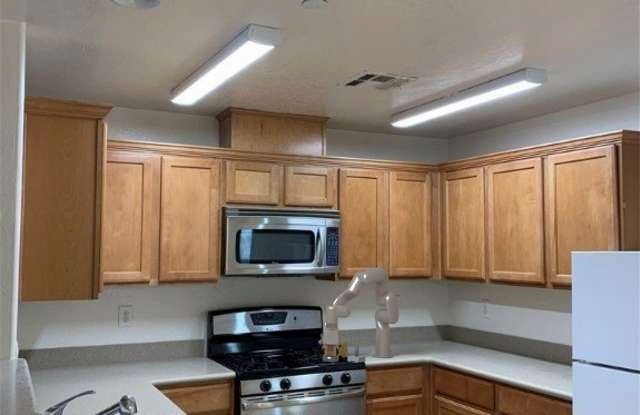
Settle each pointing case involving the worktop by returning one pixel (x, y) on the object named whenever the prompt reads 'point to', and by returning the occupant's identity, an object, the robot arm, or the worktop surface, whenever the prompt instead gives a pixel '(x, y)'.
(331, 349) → the brown box
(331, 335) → the robot arm
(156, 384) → the worktop surface
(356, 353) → the stand
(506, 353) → the worktop surface
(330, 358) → the hub
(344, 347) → the cheese
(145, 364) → the worktop surface
